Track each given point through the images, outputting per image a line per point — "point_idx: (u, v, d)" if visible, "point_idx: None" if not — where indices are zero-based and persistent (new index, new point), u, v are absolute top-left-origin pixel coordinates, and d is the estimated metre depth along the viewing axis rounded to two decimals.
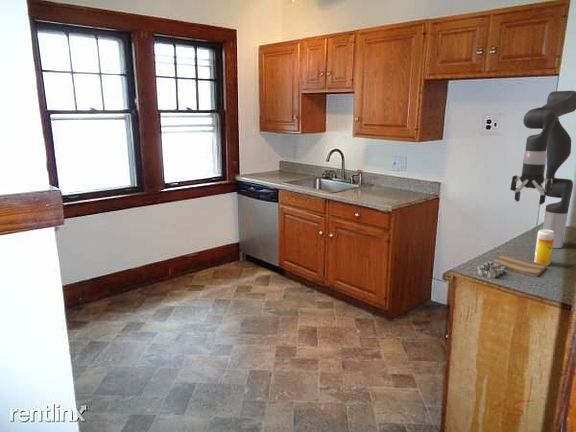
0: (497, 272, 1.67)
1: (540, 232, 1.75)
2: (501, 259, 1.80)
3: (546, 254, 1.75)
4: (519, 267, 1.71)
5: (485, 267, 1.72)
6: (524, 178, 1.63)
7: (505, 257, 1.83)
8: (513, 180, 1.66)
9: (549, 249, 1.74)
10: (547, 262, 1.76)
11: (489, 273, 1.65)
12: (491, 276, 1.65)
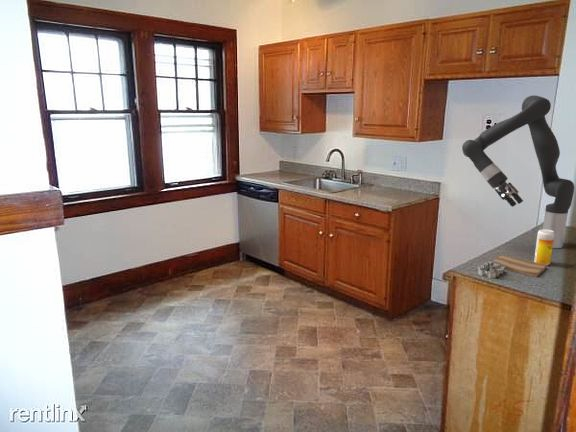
0: (497, 272, 1.67)
1: (540, 232, 1.75)
2: (501, 259, 1.80)
3: (546, 254, 1.75)
4: (519, 267, 1.71)
5: (485, 267, 1.72)
6: None
7: (505, 257, 1.83)
8: None
9: (549, 249, 1.74)
10: (547, 262, 1.76)
11: (489, 273, 1.65)
12: (491, 276, 1.65)
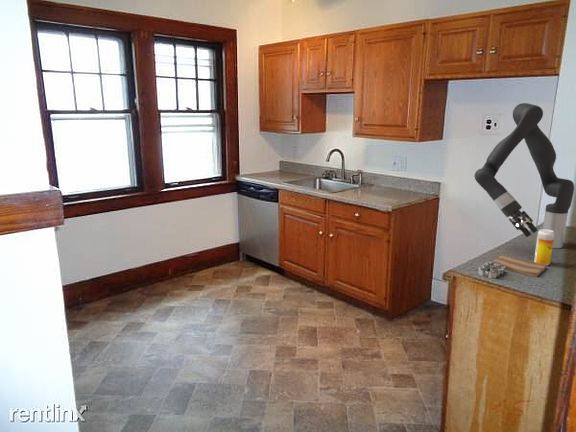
0: (498, 272, 1.67)
1: (540, 232, 1.75)
2: (501, 259, 1.80)
3: (546, 254, 1.75)
4: (519, 267, 1.71)
5: (485, 267, 1.72)
6: None
7: (505, 257, 1.83)
8: None
9: (549, 249, 1.74)
10: (547, 262, 1.76)
11: (490, 273, 1.65)
12: (492, 276, 1.65)
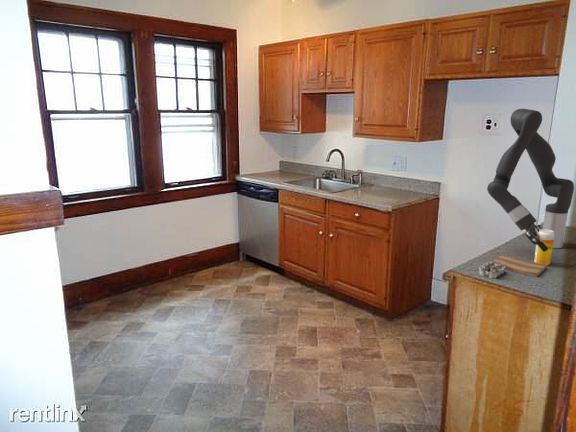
0: (498, 272, 1.67)
1: (540, 232, 1.75)
2: (501, 259, 1.80)
3: (546, 254, 1.75)
4: (519, 267, 1.71)
5: (486, 267, 1.72)
6: None
7: (505, 257, 1.83)
8: None
9: (549, 249, 1.74)
10: (547, 262, 1.76)
11: (491, 273, 1.65)
12: (493, 276, 1.65)
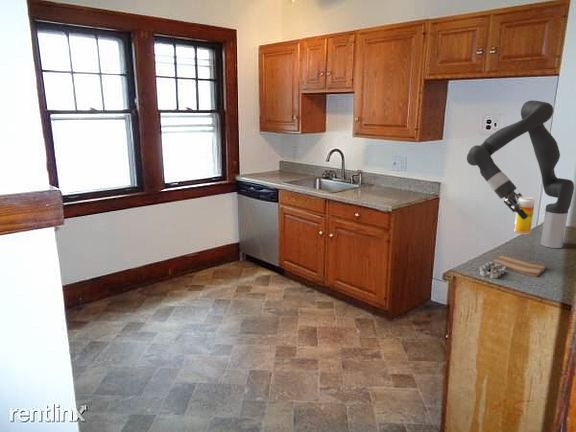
0: (499, 272, 1.67)
1: (520, 199, 1.68)
2: (501, 259, 1.80)
3: (526, 222, 1.68)
4: (519, 267, 1.71)
5: (486, 267, 1.72)
6: None
7: (505, 257, 1.83)
8: None
9: (529, 217, 1.67)
10: (527, 230, 1.69)
11: (492, 274, 1.65)
12: (494, 277, 1.65)
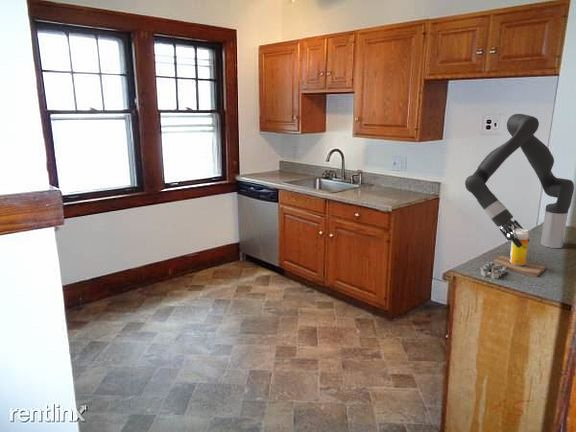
0: (500, 272, 1.67)
1: None
2: (501, 259, 1.80)
3: (521, 254, 1.71)
4: (519, 267, 1.71)
5: (487, 268, 1.71)
6: None
7: (505, 257, 1.83)
8: None
9: (524, 249, 1.71)
10: (523, 262, 1.72)
11: (493, 274, 1.64)
12: (495, 277, 1.65)
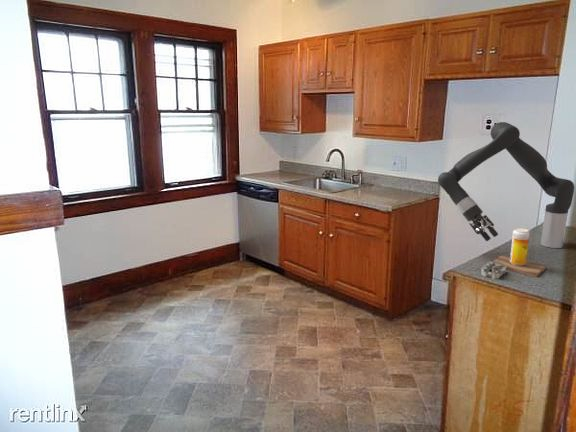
0: (500, 272, 1.66)
1: (515, 232, 1.71)
2: (501, 259, 1.80)
3: (521, 254, 1.71)
4: (519, 267, 1.71)
5: (487, 268, 1.71)
6: None
7: (505, 257, 1.83)
8: None
9: (524, 249, 1.71)
10: (523, 262, 1.72)
11: (493, 274, 1.64)
12: (495, 277, 1.64)
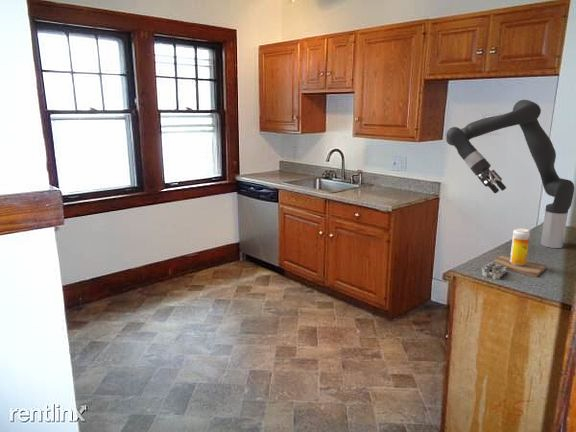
0: (501, 273, 1.66)
1: (515, 231, 1.72)
2: (501, 259, 1.80)
3: (521, 254, 1.71)
4: (519, 267, 1.71)
5: (488, 268, 1.71)
6: None
7: (505, 257, 1.83)
8: None
9: (524, 249, 1.71)
10: (523, 262, 1.72)
11: (494, 274, 1.64)
12: (496, 277, 1.64)
